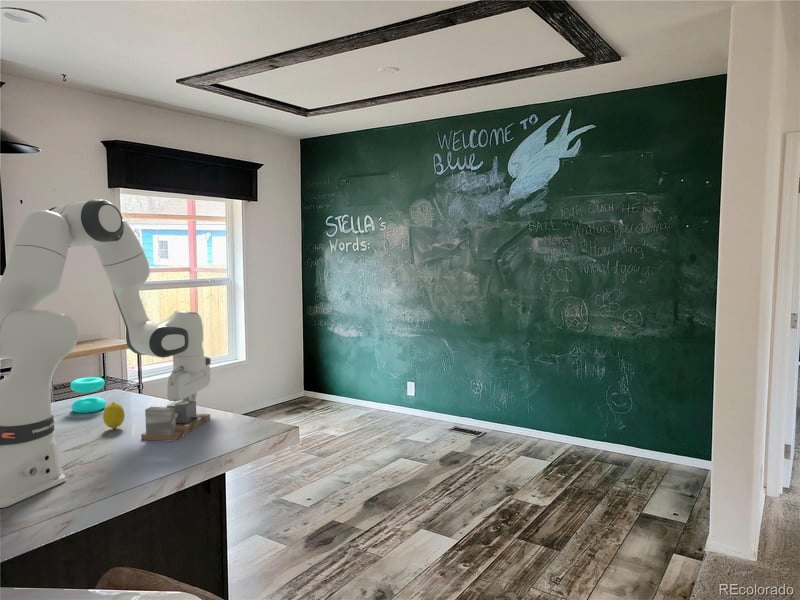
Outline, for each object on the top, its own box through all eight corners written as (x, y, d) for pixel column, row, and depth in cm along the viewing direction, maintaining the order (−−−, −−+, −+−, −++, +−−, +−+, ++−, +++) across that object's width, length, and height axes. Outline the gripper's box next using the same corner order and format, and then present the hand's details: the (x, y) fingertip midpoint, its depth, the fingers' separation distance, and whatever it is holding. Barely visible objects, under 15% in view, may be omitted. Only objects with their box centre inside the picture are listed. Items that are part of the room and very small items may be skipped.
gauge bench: (175, 441, 159) (174, 410, 158) (141, 439, 160) (140, 409, 160) (210, 418, 180) (209, 391, 179) (179, 417, 181) (178, 390, 180)
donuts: (73, 384, 182) (67, 379, 190) (75, 415, 183) (68, 409, 191) (108, 380, 189) (100, 374, 196) (109, 410, 189) (102, 403, 197)
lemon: (128, 426, 172) (127, 400, 171) (118, 432, 167) (116, 405, 166) (111, 426, 173) (109, 399, 172) (99, 432, 167) (98, 404, 166)
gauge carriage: (187, 426, 166) (187, 407, 166) (162, 425, 167) (161, 406, 167) (202, 417, 175) (201, 400, 174) (177, 416, 176) (177, 399, 176)
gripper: (181, 370, 166) (182, 418, 167) (213, 357, 186) (214, 400, 187) (160, 370, 166) (162, 417, 168) (194, 357, 187) (196, 399, 188)
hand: (190, 408), depth 178 cm, fingers closed
